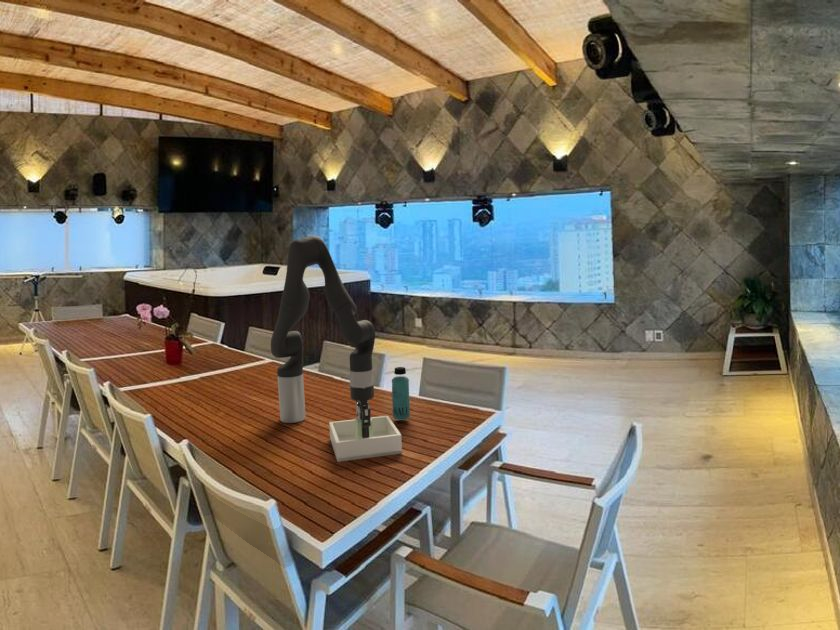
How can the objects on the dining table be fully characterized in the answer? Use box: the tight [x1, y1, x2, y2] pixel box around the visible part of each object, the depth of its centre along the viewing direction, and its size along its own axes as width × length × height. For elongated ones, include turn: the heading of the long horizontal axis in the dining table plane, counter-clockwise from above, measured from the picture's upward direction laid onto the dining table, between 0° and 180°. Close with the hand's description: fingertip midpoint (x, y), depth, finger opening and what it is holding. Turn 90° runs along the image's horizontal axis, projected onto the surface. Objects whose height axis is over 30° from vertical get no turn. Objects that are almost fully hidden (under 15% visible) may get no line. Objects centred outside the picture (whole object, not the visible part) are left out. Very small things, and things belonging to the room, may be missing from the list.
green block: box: [354, 416, 373, 439], centre depth 181 cm, size 5×5×8 cm
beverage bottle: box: [391, 366, 411, 421], centre depth 204 cm, size 6×7×20 cm
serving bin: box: [328, 415, 403, 463], centre depth 181 cm, size 20×20×6 cm
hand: (364, 434), depth 181 cm, fingers open, 5 cm apart
